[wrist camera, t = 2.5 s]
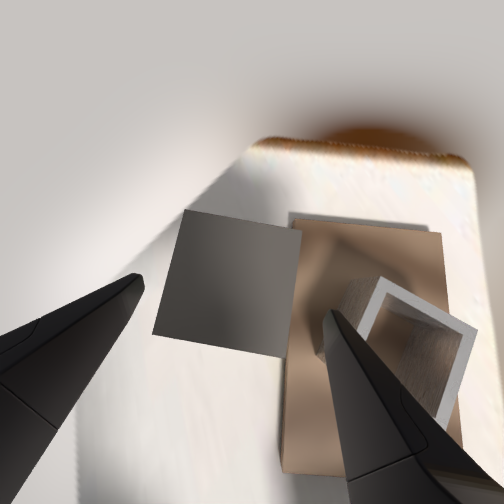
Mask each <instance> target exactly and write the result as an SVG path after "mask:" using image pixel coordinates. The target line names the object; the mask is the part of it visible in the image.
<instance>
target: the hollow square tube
mask: <svg viewBox="0 0 504 504" xmlns="http://www.w3.org/2000/svg"><path fill="white" fill-rule="evenodd" d="M380 307H383V308H385V309H386V310H388V311H390V312H392V313H393V314H395V315H397V316H399V317H400V318H402V319H404V320H406V321H407V322H409V323H411V324H413V325H414V326H413V328H412V331H411V333H410V336H409V339H408V341H407V344H406V346H405V349H404V352H403V354H402V357H401V359H400V362H399V365H398V367H397V370H396V372H395V376H396V377H397V378H398V379H399V380H400V382H401V384H403V385H404V386H405V387H406V389H407V390H408V391H409V392H410V393H411V394H412V395H413V397H414V398H415V399H416V400H417V401H418V402H419V403H420V404H421V406H422V407H423V408H424V409H425V410H426V411H427V412H428V413H429V414H430V415H431V416H432V417H433V418H434V420H435V421H436V422H437V423H438V424H439V425H440V426H441V427H442V428H443V429H444V430H445V431H446V429H447V426H448V422H449V419H450V416H451V413H452V410H453V407H454V404H455V401H456V397H457V394H458V391H459V388H460V385H461V382H462V379H463V375H464V372H465V369H466V366H467V363H468V360H469V357H470V353H471V350H472V347H473V344H474V341H475V338H476V335H477V331H478V330H477V329H475V328H473V327H471V326H470V325H468V324H466V323H464V322H462V321H461V320H459V319H457V318H455V317H454V316H452V315H450V314H448V313H446V312H445V311H443V310H441V309H439V308H437V307H436V306H434V305H432V304H430V303H428V302H427V301H425V300H423V299H421V298H419V297H418V296H416V295H414V294H412V293H410V292H409V291H407V290H405V289H403V288H402V287H400V286H398V285H396V284H394V283H393V282H391V281H389V280H387V279H385V278H384V277H382V276H376V277H367V278H359V279H351V280H350V282H349V285H348V287H347V289H346V291H345V293H344V295H343V297H342V299H341V302H340V304H339V306H338V308H337V310H339V311H340V312H341V313H342V314H343V316H344V317H345V318H346V319H347V320H348V321H349V323H350V324H351V325H352V326H353V327H354V328H355V329H356V331H357V332H358V333H359V334H360V335H361V336H362V338H363V339H364V340H365V341H366V340H367V337H368V335H369V333H370V330H371V328H372V325H373V323H374V321H375V318H376V316H377V314H378V311H379V309H380ZM315 356H317V357H318V358H319V359H320V360H321V361H322V362H323V363H324V364H325V365H326V360H325V351H324V338H323V340H322V342H321V344H320V346H319V348H318V350H317V353H316V355H315Z"/></svg>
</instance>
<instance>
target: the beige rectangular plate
mask: <svg viewBox="0 0 504 504" xmlns="http://www.w3.org/2000/svg"><path fill="white" fill-rule="evenodd" d="M292 229H296V230H301V231H302V238H301V246H300V253H299V261H298V268H297V276H296V283H295V291H294V298H293V306H292V313H291V321H290V328H289V336H288V343H287V351H286V362H285V381H284V400H283V419H282V439H281V458H280V462H281V467H282V472H283V473H294V474H307V475H320V476H333V477H346V475H345V469H344V463H343V457H342V452H341V446H340V440H339V434H338V429H337V423H336V417H335V412H334V406H333V400H332V394H331V389H330V383H329V377H328V371H327V366H326V365H325V364H324V363H323V362H322V361H321V360H320V359H319V358H318V357H317V356H315V355H316V353H317V350H318V348H319V346H320V344H321V342H322V340H323V338H324V336H323V320H324V318H325V316H326V314H327V312H328V310H329V309H335V310H337V308H338V306H339V304H340V302H341V299H342V297H343V295H344V293H345V291H346V289H347V287H348V285H349V282H350V280H351V279H359V278H367V277H376V276H382V277H384V278H385V279H387V280H389V281H391V282H393V283H394V284H396V285H398V286H400V287H402V288H403V289H405V290H407V291H409V292H410V293H412V294H414V295H416V296H418V297H419V298H421V299H423V300H425V301H427V302H428V303H430V304H432V305H434V306H436V307H437V308H439V309H441V310H443V311H445V312H446V313H448V314H449V305H448V295H447V285H446V275H445V265H444V255H443V245H442V236H441V233H438V232H427V231H417V230H407V229H397V228H387V227H376V226H366V225H356V224H346V223H336V222H326V221H315V220H305V219H295V220H294V221H293V227H292ZM413 326H414V325H413V324H411V323H409V322H407V321H406V320H404V319H402V318H400V317H399V316H397V315H395V314H393V313H392V312H390V311H388V310H386V309H385V308H383V307H380V309H379V311H378V314H377V316H376V318H375V321H374V323H373V325H372V328H371V330H370V333H369V335H368V337H367V340H366V342H367V343H368V345H369V346H370V347H371V348H372V349H373V350H374V351H375V353H376V354H377V355H378V356H379V357H380V358H381V360H382V361H383V362H384V363H385V364H386V365H387V367H388V368H389V369H390V370H391V371H392V372H393V374H394V375H395V372H396V370H397V367H398V365H399V362H400V359H401V357H402V354H403V352H404V349H405V346H406V344H407V341H408V339H409V336H410V333H411V331H412V328H413ZM446 432H447V433H448V434H449V435H450V436H451V437H452V438H453V439H454V440H455V441H456V442H457V443H458V445H459V446H460V447H461V448H462V449H463V443H462V433H461V423H460V414H459V404H458V394H457V397H456V401H455V404H454V407H453V410H452V413H451V416H450V419H449V422H448V426H447V429H446Z"/></svg>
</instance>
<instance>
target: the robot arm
mask: <svg viewBox="0 0 504 504" xmlns="http://www.w3.org/2000/svg"><path fill="white" fill-rule="evenodd" d="M144 290H145V285H144V281H143V276H142V275H141V274H136V273H131V274H129V275H127V276H125V277H123V278H121V279H119V280H117V281H115V282H113V283H111V284H108V285H106V286H104V287H102V288H100V289H98V290H96V291H94V292H92V293H90V294H88V295H86V296H84V297H82V298H79V299H78V300H75V301H73V302H71V303H69V304H67V305H65V306H63V307H61V308H59V309H57V310H55V311H53V312H51V313H48V314H46V315H44V316H42V317H41V318H38V319H36V320H34V321H32V322H30V323H28V324H26V325H23V326H21V327H19V328H17V329H15V330H13V331H10V332H8V333H6V334H4V335H1V336H0V504H11V503H12V501H13V499H14V498H15V496H16V495H17V493H18V492H19V490H20V489H21V487H22V486H23V484H24V482H25V481H26V479H27V478H28V476H29V475H30V473H31V472H32V470H33V468H34V467H35V465H36V464H37V462H38V461H39V459H40V457H41V456H42V455H43V453H44V452H45V450H46V448H47V447H48V445H49V444H50V442H51V441H52V439H53V438H54V436H55V435H56V433H57V431H58V429H59V428H60V427H61V425H62V423H63V422H64V420H65V419H66V417H67V416H68V414H69V413H70V411H71V410H72V408H73V407H74V405H75V403H76V402H77V400H78V399H79V397H80V396H81V394H82V393H83V391H84V390H85V388H86V386H87V385H88V383H89V382H90V380H91V379H92V377H93V376H94V374H95V373H96V371H97V369H98V368H99V366H100V365H101V363H102V362H103V360H104V359H105V357H106V356H107V354H108V352H109V351H110V349H111V348H112V346H113V345H114V343H115V342H116V340H117V339H118V337H119V335H120V334H121V332H122V331H123V329H124V328H125V326H126V325H127V323H128V321H129V320H130V318H131V316H132V314H133V312H134V310H135V308H136V306H137V304H138V302H139V300H140V298H141V296H142V294H143V292H144ZM323 336H324V351H325V360H326V366H327V371H328V377H329V383H330V389H331V394H332V400H333V406H334V412H335V417H336V423H337V429H338V434H339V440H340V446H341V452H342V457H343V463H344V469H345V475H346V480H347V482H348V483H347V487H348V492H349V498H350V504H504V488H503V487H502V486H501V485H499V484H498V483H497V482H496V481H495V480H493V479H492V478H491V477H490V476H489V475H488V474H487V473H486V472H485V471H484V470H483V469H482V468H481V467H480V466H479V465H478V464H477V463H476V462H475V461H474V460H473V459H472V458H471V457H470V456H469V455H468V454H467V453H466V452H465V451H464V450H463V449H462V448H461V447H460V446H459V445H458V443H457V442H456V441H455V440H454V439H453V438H452V437H451V436H450V435H449V434H448V433H447V432H446V431H445V430H444V429H443V428H442V427H441V426H440V425H439V424H438V423H437V422H436V421H435V420H434V418H433V417H432V416H431V415H430V414H429V413H428V412H427V411H426V410H425V409H424V408H423V407H422V406H421V404H420V403H419V402H418V401H417V400H416V399H415V398H414V397H413V395H412V394H411V393H410V392H409V391H408V390H407V389H406V387H405V386H404V385H403V384H401V382H400V380H399V379H398V378H397V377H396V376H395V375H394V374H393V372H392V371H391V370H390V369H389V368H388V367H387V365H386V364H385V363H384V362H383V361H382V360H381V358H380V357H379V356H378V355H377V354H376V353H375V351H374V350H373V349H372V348H371V347H370V346H369V345H368V343H367V342H366V341H365V340H364V339H363V338H362V336H361V335H360V334H359V333H358V332H357V331H356V329H355V328H354V327H353V326H352V325H351V324H350V323H349V321H348V320H347V319H346V318H345V317H344V316H343V314H342V313H341V312H340V311H339V310H335V309H329V310H328V312H327V314H326V316H325V318H324V320H323Z"/></svg>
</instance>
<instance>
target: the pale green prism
mask: <svg viewBox="0 0 504 504" xmlns="http://www.w3.org/2000/svg"><path fill="white" fill-rule="evenodd" d="M301 238H302V231H301V230H296V229H290V228H285V227H279V226H274V225H268V224H263V223H257V222H252V221H246V220H241V219H235V218H230V217H224V216H219V215H213V214H208V213H202V212H197V211H191V210H186V209H185V210H184V214H183V218H182V222H181V225H180V229H179V233H178V237H177V241H176V244H175V248H174V252H173V256H172V260H171V263H170V267H169V271H168V275H167V279H166V283H165V286H164V290H163V294H162V298H161V302H160V305H159V309H158V313H157V317H156V321H155V324H154V328H153V332H152V335H158V336H163V337H169V338H174V339H180V340H185V341H191V342H196V343H202V344H207V345H213V346H218V347H224V348H229V349H235V350H240V351H246V352H251V353H256V354H262V355H267V356H273V357H278V358H284V359H285V358H286V351H287V343H288V336H289V328H290V321H291V313H292V306H293V298H294V291H295V283H296V276H297V268H298V261H299V253H300V246H301Z"/></svg>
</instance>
